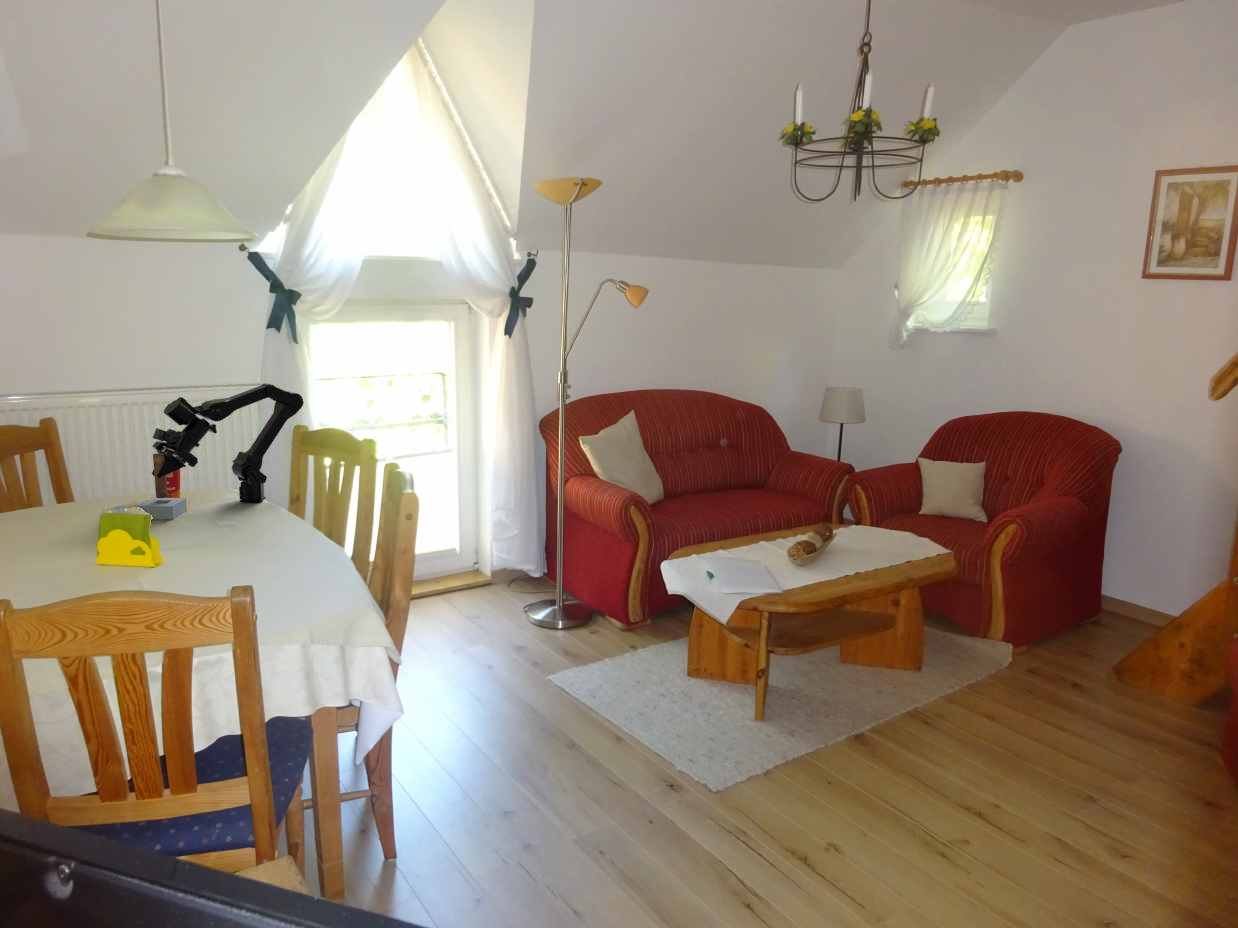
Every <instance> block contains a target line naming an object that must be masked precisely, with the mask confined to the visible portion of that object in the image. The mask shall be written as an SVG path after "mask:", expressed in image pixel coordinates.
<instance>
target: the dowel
mask: <svg viewBox="0 0 1238 928" xmlns="http://www.w3.org/2000/svg"><path fill="white" fill-rule="evenodd" d="M152 460H153V461H152V462H153V469H154V476H153V477H154V486H155V487H154V488H155V498H166V497H167V483H166V475H165V476H163V477H161V478H158V477H157V476H156V475H157V474H158V472H159V470H160V469H161V468H162V466H163V465H164V463H165V455H164V453H158V452H157V453H153V454H152Z"/></svg>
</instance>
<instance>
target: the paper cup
mask: <svg viewBox="0 0 1238 928" xmlns="http://www.w3.org/2000/svg"><path fill="white" fill-rule="evenodd" d="M166 483H167V497H166V498H181V468H180V469H178V470H176V471H173V472H171V473H169V474H167V475H166Z"/></svg>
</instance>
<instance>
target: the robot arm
mask: <svg viewBox="0 0 1238 928" xmlns="http://www.w3.org/2000/svg"><path fill="white" fill-rule="evenodd" d="M265 399H270V400H272V401H274V407H273V413H272V415H270V418H269V419H268V420H267V422H266V423H265V424H264V427H263V428H262V429H261V431H260V433H259V434H258V436H257V437H256V438H255V440H254V442H253V443H252V444H251V446H250V448H248V450H247V451H245V452H243V451H239V452H238V453H237V456H236V457H235V459H233V460H232V463H233V464H232V465H231V470H232V473H233V474H234V476H236V477H237V479H238V481H240V485H239V487H238V493H239V503H249V504H250V503H256V504H257V503H262V502H263V501H264V500H266V499H267V497H266V496H265V484H266V482H267V479H268V477H267V476H266V475H265V474H264V473H263V472H261V469H262V467H263V459H264V456H265V454H266V453H267V451H268V450H269V449H270V447H271V445H272V444H273V442H274V441H275V439H276V438H277V436H278V435H279V433H280V431H281V430H282V429H283V427H284V426H285V424H286V422H287V421H288V420H289V419H291V418H293V416H295V415H297V413H298V412H299V411H300V410H301V409H302V408H303V406H304V403H305V402H304V399H303V397H302V395H301V394H299V393H296V392H291V391H286V390H285V389H282V388H279V387H277V386H276V385H274V384H271V383H262V384H260V385H257V387H256V386H255V387H253V388H250V389H248V390H246V391H243V392H240V393H237V394H234V395H232V396H229V397H226V398H225V397H223V398H216V399H211V400H205V401H204V402H202V403H201V404H200V405H197V406H192V404H190V403H189V402H188V401H187V400H186V399H185V398H184V397H182V396H178V398H177V399H174V400H173V401H172V402H170V403H168V404H167V405H166V406H165V408H164V410H163V414H165V416H167V418H170V419H171V421H173V422H174V423H175V424H177V425H178V426H183V425H184V426H185V427H184V428H183V429H182V430H181V431H180V430H174V429H171V428H168V429H167V430H164V429H161V428H157V427H156V428H155V430H154V432H153V436H152V439H155V440H156V441H155V443H153V444H152V449H153V448H154V450H156V452H157V453H164V455H165V463H164V465H163V466H162V468H161V469H160V470H159V472H158V474H157V475H156V476H157V477H158V478H161V477H163V476H165V475H167V474H169V473H171V472H173V471H176V470H178V469H180V470H181V469H182V468H186V467H187V465H186V463H187V464H188V466H189V467H192V468H195V467H196V465H197V464H198V461H199V460H198V457H196V456H195V455H194V454H193V453H191V452H192V451H193V450H194V448H199V446H200V445H201V444H200V441H202V439H203V438H204V437H205V436H206V435H207V433H208V432H210V433H212V434H217V433H218V431H217V424H216V423H210V422H209V421H212V422H221V421H223V420H224V419H226V418H228V417H230V416H231V415H232V414H233V413H234V412H235V411H238V410H239V409H242V408H245V407H247V406H250V405H252V404H254V403H257V402H260V401H262V400H263V401H264V400H265ZM199 416H200V417H202V418H199ZM208 420H209V421H208ZM151 475H152V476H153V477H155V476H154V468H153V469H152V471H151ZM261 501H262V502H261Z"/></svg>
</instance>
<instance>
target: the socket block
mask: <svg viewBox="0 0 1238 928" xmlns="http://www.w3.org/2000/svg"><path fill="white" fill-rule="evenodd" d="M187 505H188V504H187V498H186V497H185V498H184V497H180V498H156V497H150V498H149V499H147V500H144V501H143V502H141V503H139V504H137V505H136V508H137V507H140V508H142V509H143V510H144V511H145V512H147V513H149V514H150V515H152V517H153V519H152V520H172V521H173V520H175V519H177V518H178V517H180V516H182V515H183V514H184V513H187V511H188V506H187Z"/></svg>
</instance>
